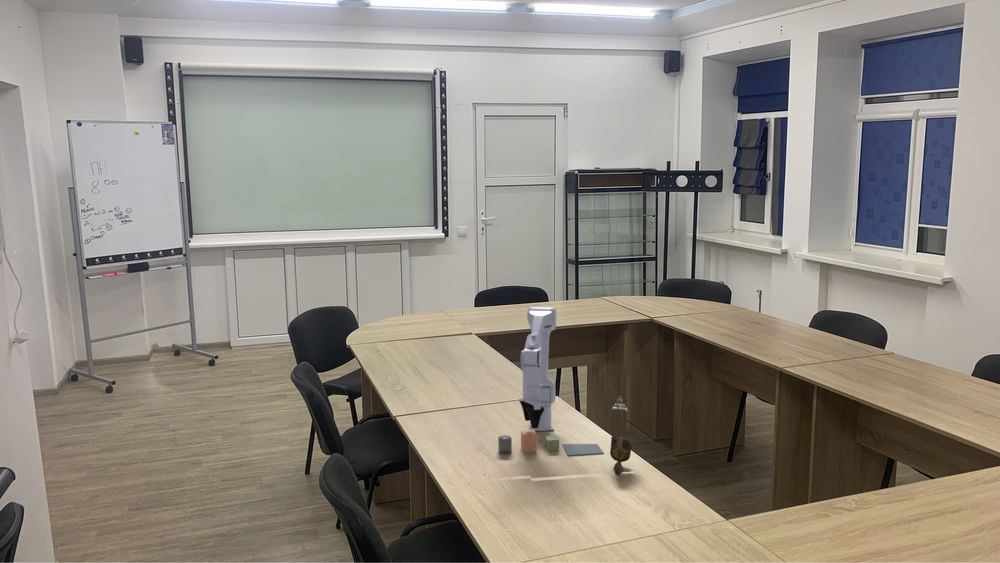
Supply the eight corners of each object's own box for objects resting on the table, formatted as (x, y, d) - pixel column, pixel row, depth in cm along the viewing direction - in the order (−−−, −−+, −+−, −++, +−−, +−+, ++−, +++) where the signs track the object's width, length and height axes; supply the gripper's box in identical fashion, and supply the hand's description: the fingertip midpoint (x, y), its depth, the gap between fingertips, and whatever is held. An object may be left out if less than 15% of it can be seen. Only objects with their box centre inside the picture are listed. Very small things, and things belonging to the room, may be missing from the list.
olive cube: (545, 447, 249) (545, 436, 249) (556, 447, 250) (556, 435, 249) (547, 452, 245) (547, 440, 245) (559, 451, 246) (559, 439, 245)
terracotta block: (521, 448, 249) (520, 430, 248) (533, 447, 249) (533, 429, 248) (523, 453, 244) (523, 434, 243) (536, 452, 245) (536, 434, 244)
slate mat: (559, 441, 255) (559, 440, 255) (592, 439, 257) (592, 438, 257) (568, 456, 241) (568, 454, 241) (603, 453, 243) (603, 452, 243)
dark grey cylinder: (497, 450, 247) (497, 435, 247) (510, 449, 248) (510, 435, 247) (499, 454, 243) (499, 440, 242) (512, 454, 244) (512, 439, 243)
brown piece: (629, 462, 236) (629, 432, 234) (638, 478, 223) (638, 446, 222) (607, 462, 236) (607, 432, 234) (614, 478, 223) (614, 447, 222)
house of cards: (635, 411, 288) (635, 392, 287) (632, 418, 279) (633, 398, 278) (611, 409, 290) (612, 390, 289) (609, 416, 282) (609, 397, 281)
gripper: (514, 379, 249) (514, 418, 251) (525, 391, 235) (525, 432, 237) (534, 378, 250) (534, 416, 252) (546, 389, 236) (546, 430, 238)
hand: (531, 424), depth 245 cm, fingers open, 7 cm apart
